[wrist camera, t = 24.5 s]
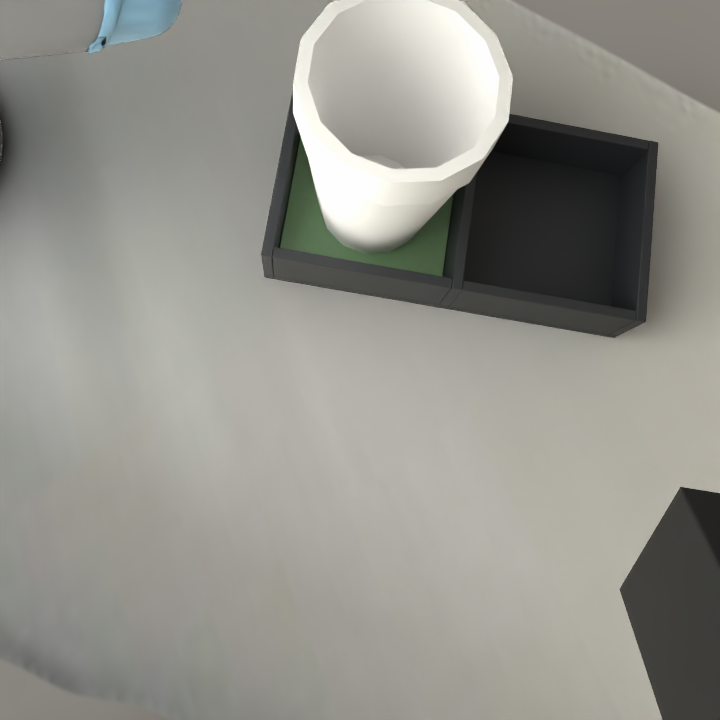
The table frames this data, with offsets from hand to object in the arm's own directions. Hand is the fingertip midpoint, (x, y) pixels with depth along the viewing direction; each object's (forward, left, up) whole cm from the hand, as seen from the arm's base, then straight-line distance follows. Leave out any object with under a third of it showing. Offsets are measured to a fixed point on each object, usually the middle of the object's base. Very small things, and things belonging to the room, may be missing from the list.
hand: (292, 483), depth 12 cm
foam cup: (+2, +18, -27) cm, 32 cm away
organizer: (+7, +18, -28) cm, 34 cm away
